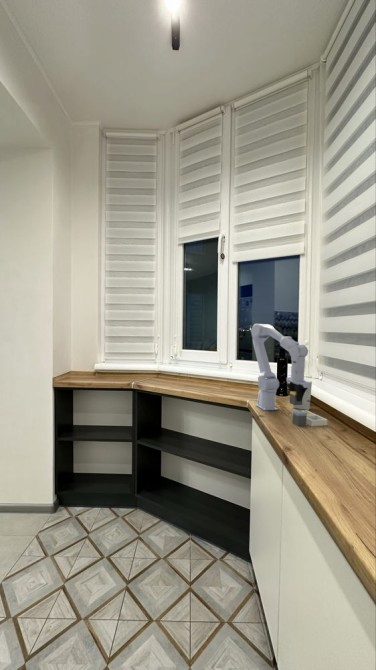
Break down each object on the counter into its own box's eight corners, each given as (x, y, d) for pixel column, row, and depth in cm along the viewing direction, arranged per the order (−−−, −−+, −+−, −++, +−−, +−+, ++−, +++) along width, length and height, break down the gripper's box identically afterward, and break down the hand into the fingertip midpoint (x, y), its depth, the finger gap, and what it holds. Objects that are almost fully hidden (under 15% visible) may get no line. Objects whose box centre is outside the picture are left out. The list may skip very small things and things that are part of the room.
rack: (292, 416, 142) (292, 411, 142) (306, 415, 144) (306, 410, 144) (311, 426, 129) (311, 420, 129) (327, 425, 131) (327, 419, 131)
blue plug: (292, 423, 132) (293, 410, 132) (300, 422, 133) (300, 410, 133) (297, 426, 128) (298, 413, 128) (306, 425, 129) (306, 413, 129)
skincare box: (292, 408, 157) (294, 379, 156) (293, 405, 162) (295, 378, 161) (310, 410, 153) (311, 381, 152) (310, 407, 159) (312, 379, 158)
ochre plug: (289, 402, 141) (290, 391, 141) (296, 402, 142) (297, 391, 142) (294, 405, 137) (295, 393, 137) (302, 404, 138) (302, 393, 138)
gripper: (315, 373, 133) (313, 403, 134) (295, 368, 147) (294, 395, 148) (301, 373, 131) (300, 404, 132) (283, 368, 145) (281, 396, 146)
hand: (296, 399), depth 140 cm, fingers closed on ochre plug, 4 cm apart
